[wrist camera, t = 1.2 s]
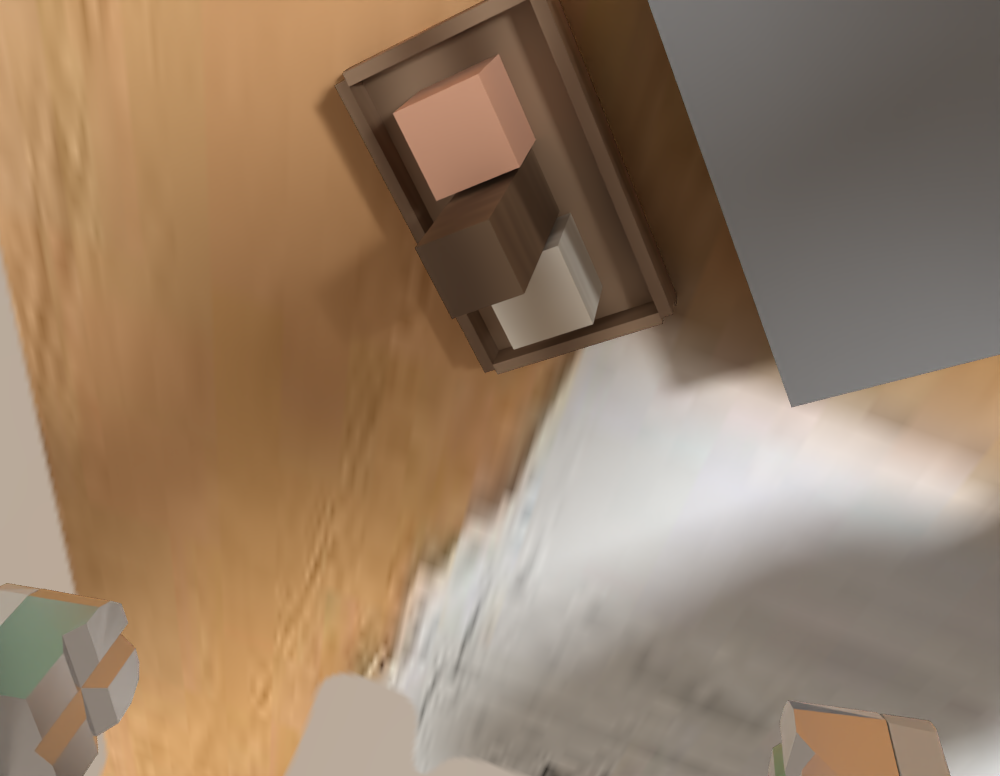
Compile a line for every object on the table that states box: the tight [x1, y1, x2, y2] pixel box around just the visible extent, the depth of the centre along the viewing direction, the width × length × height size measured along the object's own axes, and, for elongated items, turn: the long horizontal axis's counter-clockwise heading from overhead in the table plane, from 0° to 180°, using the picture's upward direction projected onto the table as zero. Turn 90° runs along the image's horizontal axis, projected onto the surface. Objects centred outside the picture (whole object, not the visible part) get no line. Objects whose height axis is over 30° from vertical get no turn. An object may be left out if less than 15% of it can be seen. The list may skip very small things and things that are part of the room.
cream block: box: [491, 213, 603, 349], centre depth 41 cm, size 4×4×4 cm
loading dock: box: [648, 0, 1000, 407], centre depth 33 cm, size 15×20×6 cm
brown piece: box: [335, 0, 677, 374], centre depth 38 cm, size 10×16×10 cm, turn 26°
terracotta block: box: [393, 54, 536, 201], centre depth 38 cm, size 4×4×4 cm
